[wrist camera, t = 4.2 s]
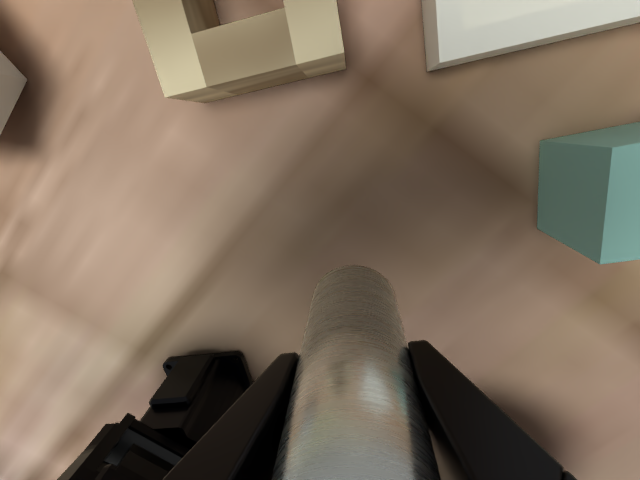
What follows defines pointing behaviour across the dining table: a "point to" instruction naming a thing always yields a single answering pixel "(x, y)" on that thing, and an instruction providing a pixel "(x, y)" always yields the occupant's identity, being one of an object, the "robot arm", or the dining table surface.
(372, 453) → the rod
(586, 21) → the tray
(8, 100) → the die
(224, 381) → the robot arm
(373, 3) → the dining table surface
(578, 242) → the block
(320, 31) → the hollow square frame
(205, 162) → the dining table surface
